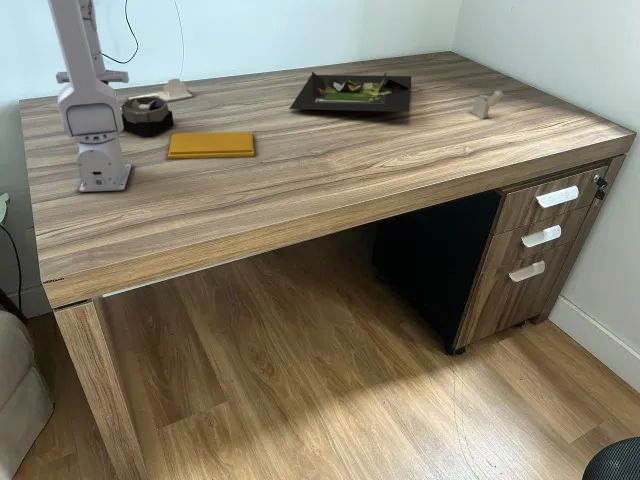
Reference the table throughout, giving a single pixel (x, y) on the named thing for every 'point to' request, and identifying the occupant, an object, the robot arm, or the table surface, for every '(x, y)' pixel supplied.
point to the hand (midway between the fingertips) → (101, 113)
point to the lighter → (485, 104)
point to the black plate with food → (355, 93)
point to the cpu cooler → (146, 116)
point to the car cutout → (170, 91)
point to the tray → (211, 145)
